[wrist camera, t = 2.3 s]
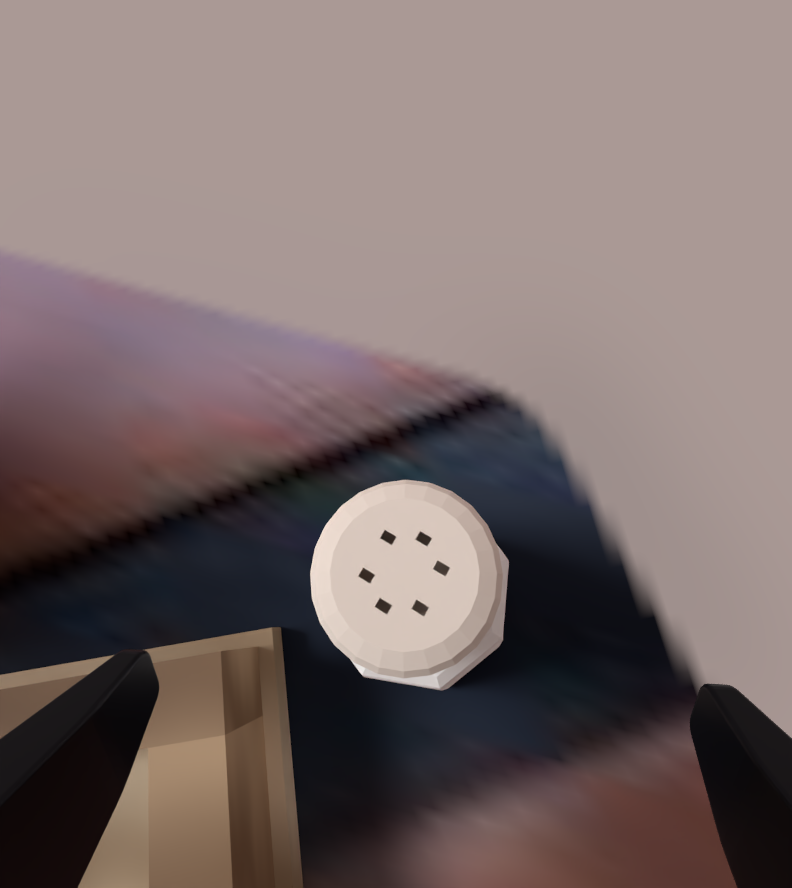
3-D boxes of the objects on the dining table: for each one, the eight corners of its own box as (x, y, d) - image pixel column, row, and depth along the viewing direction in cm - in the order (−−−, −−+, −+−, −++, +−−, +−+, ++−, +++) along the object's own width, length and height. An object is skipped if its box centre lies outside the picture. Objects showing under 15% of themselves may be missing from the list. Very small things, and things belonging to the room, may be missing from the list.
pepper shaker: (458, 725, 17) (484, 895, 6) (316, 631, 18) (141, 641, 8) (536, 572, 18) (666, 502, 8) (398, 494, 19) (345, 341, 9)
